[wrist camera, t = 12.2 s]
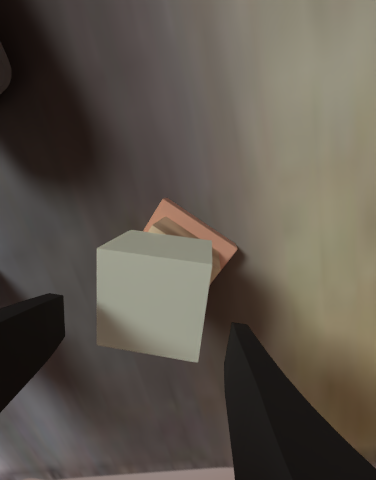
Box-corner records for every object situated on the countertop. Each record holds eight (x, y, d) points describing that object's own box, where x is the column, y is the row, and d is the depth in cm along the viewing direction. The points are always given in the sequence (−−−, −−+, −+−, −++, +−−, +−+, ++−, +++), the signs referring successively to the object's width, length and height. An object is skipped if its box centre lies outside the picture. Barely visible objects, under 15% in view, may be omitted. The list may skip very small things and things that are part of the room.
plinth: (235, 243, 18) (237, 248, 17) (190, 302, 20) (188, 312, 19) (166, 197, 18) (162, 198, 16) (127, 262, 20) (120, 268, 18)
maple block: (218, 251, 17) (220, 270, 13) (184, 297, 18) (177, 326, 14) (165, 215, 17) (152, 225, 13) (134, 265, 18) (114, 286, 14)
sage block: (211, 240, 13) (212, 264, 9) (201, 313, 14) (197, 362, 10) (130, 229, 13) (96, 248, 9) (127, 302, 14) (96, 345, 11)
